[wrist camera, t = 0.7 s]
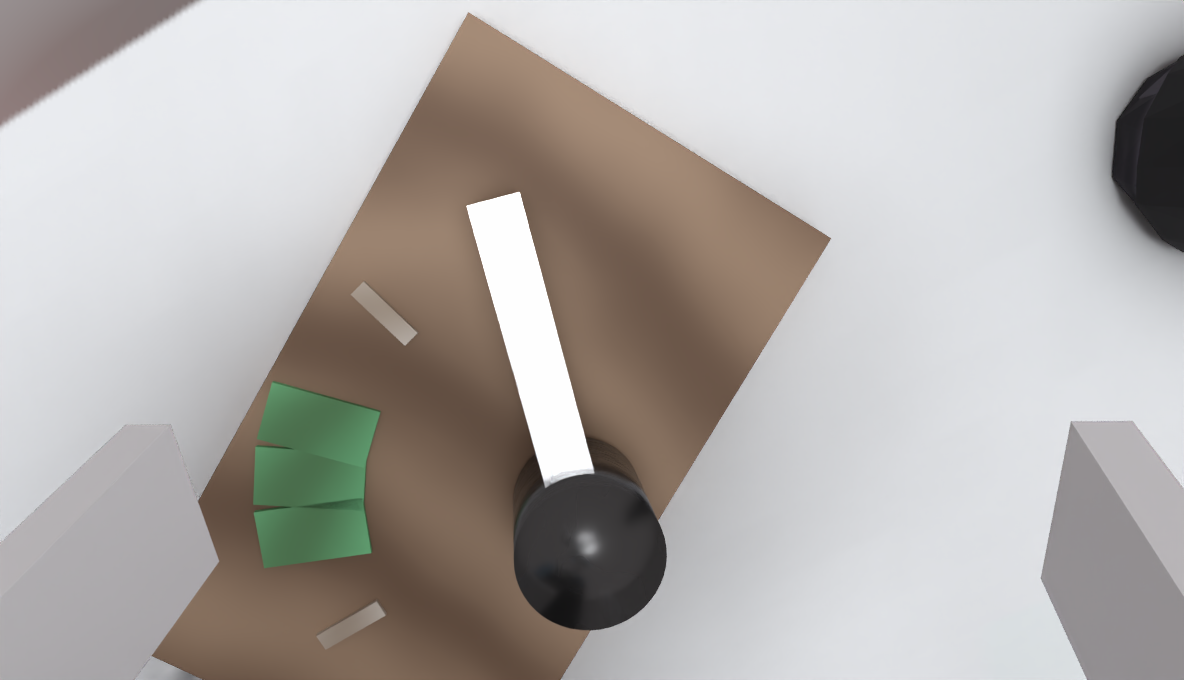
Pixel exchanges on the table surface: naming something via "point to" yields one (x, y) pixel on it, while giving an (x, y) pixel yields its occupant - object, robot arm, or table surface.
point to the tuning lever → (563, 457)
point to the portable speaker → (1155, 152)
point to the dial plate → (476, 381)
